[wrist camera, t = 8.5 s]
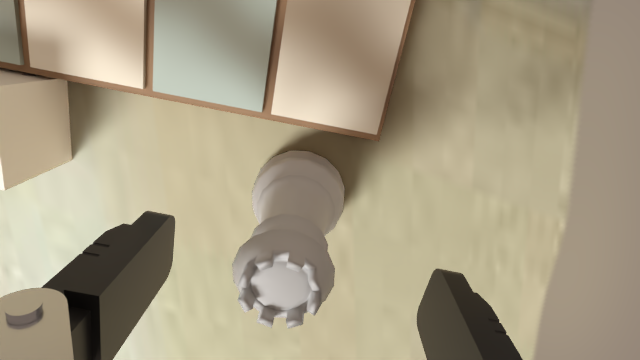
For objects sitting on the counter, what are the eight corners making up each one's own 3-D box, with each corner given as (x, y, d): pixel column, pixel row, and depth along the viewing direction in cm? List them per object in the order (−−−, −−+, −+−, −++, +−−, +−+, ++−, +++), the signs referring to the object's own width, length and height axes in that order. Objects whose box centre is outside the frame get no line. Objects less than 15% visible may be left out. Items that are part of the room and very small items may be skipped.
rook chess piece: (288, 128, 17) (255, 196, 9) (362, 181, 18) (388, 282, 10) (239, 198, 18) (176, 307, 11) (310, 244, 19) (299, 374, 12)
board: (375, 134, 17) (379, 142, 15) (-64, 48, 16) (-100, 49, 15) (418, -34, 14) (427, -41, 13) (-100, -148, 13) (-146, -168, 12)
